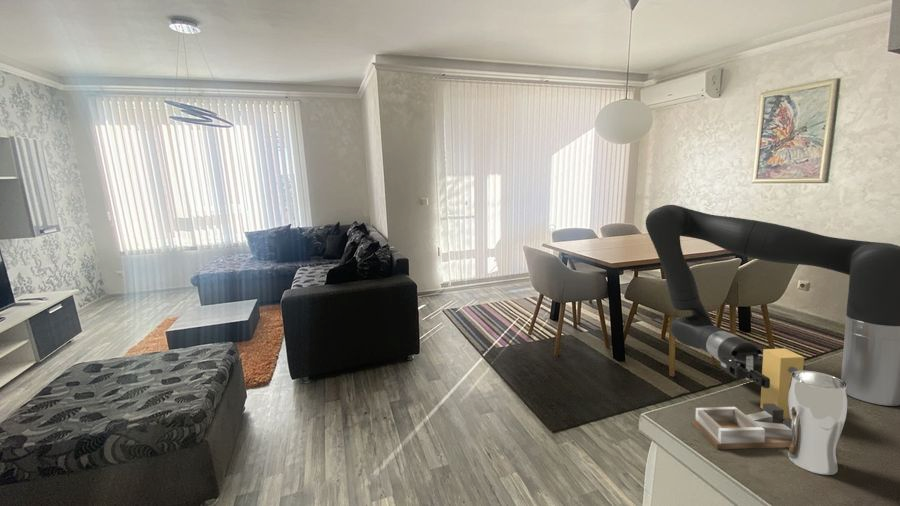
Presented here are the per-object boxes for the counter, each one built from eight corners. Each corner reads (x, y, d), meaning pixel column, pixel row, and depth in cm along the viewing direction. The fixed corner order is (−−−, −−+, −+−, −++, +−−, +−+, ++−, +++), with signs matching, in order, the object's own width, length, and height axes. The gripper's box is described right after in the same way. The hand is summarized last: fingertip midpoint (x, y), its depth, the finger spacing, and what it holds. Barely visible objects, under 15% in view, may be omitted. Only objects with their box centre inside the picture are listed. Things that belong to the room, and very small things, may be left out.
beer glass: (783, 444, 68) (788, 366, 66) (838, 459, 64) (845, 376, 62) (785, 466, 63) (790, 382, 61) (845, 484, 59) (852, 394, 57)
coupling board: (773, 421, 75) (774, 402, 74) (809, 446, 67) (810, 426, 67) (691, 423, 76) (692, 405, 75) (716, 449, 68) (717, 428, 67)
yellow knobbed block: (779, 405, 80) (782, 347, 79) (802, 420, 75) (806, 358, 73) (758, 405, 81) (761, 348, 79) (779, 420, 75) (783, 359, 73)
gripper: (702, 337, 91) (753, 366, 75) (763, 334, 90) (828, 364, 74) (701, 366, 92) (751, 401, 76) (762, 364, 91) (825, 399, 75)
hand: (789, 383), depth 75 cm, fingers open, 8 cm apart
